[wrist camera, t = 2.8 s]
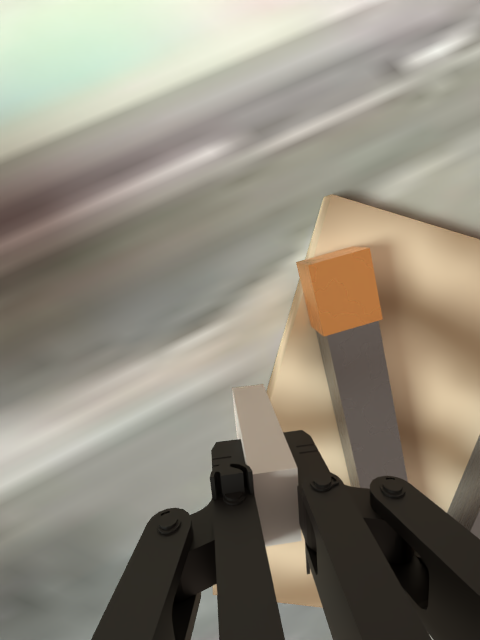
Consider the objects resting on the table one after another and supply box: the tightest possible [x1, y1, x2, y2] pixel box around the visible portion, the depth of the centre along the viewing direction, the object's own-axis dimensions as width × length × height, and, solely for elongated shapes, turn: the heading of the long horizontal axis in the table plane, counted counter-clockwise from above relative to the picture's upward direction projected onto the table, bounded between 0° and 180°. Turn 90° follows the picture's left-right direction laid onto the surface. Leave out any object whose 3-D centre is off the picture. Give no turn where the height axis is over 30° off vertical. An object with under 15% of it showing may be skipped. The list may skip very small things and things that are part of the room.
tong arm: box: [296, 247, 429, 634], centre depth 24 cm, size 27×4×3 cm, turn 15°
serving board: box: [213, 194, 480, 608], centre depth 26 cm, size 28×20×2 cm
